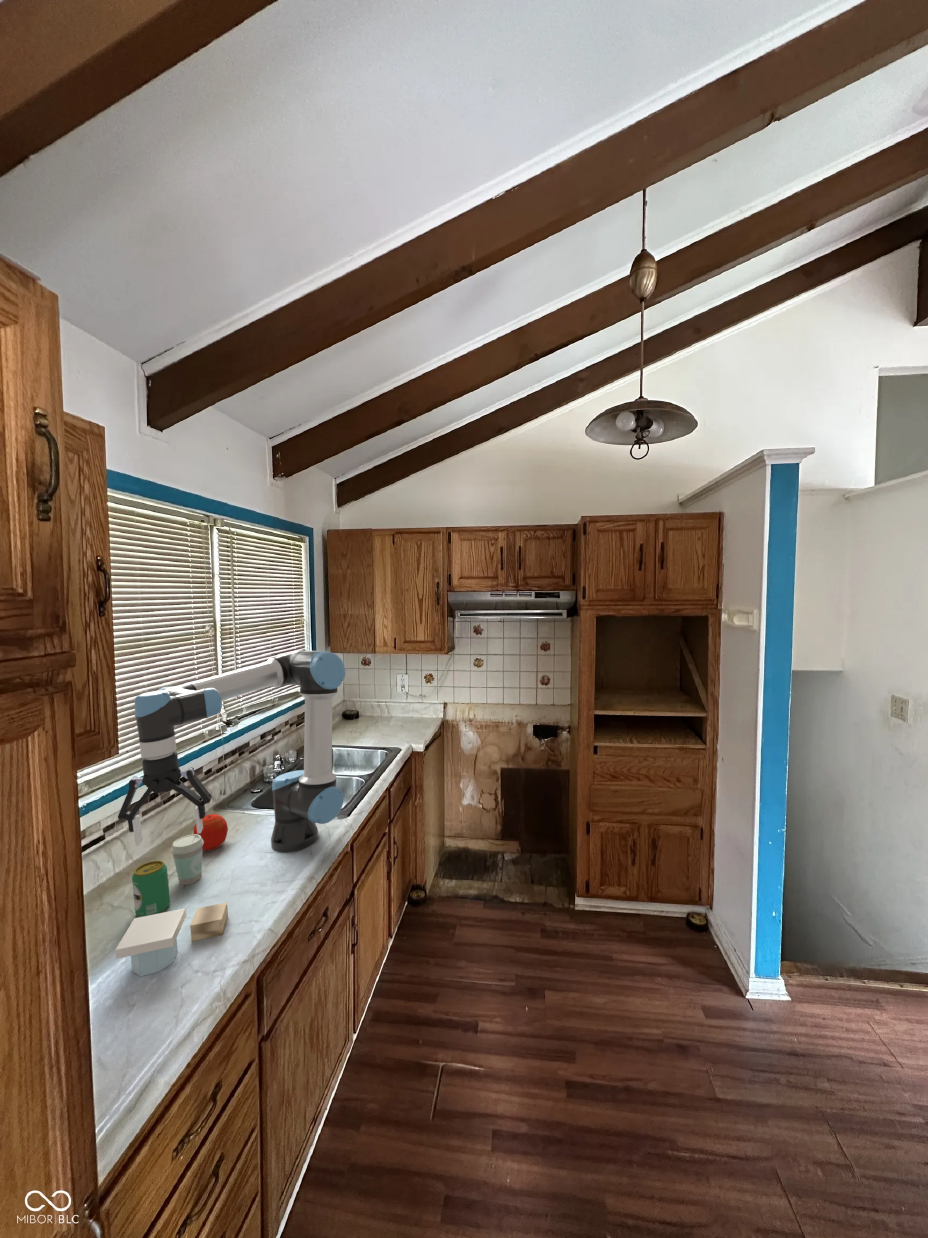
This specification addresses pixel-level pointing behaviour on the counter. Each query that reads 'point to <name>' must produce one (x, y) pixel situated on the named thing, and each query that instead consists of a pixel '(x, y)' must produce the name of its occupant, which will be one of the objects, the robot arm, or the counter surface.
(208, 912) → the cork block
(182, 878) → the coffee cup
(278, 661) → the robot arm
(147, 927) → the ceramic tile
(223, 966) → the counter surface
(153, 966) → the bowl
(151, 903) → the beverage can
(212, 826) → the apple
